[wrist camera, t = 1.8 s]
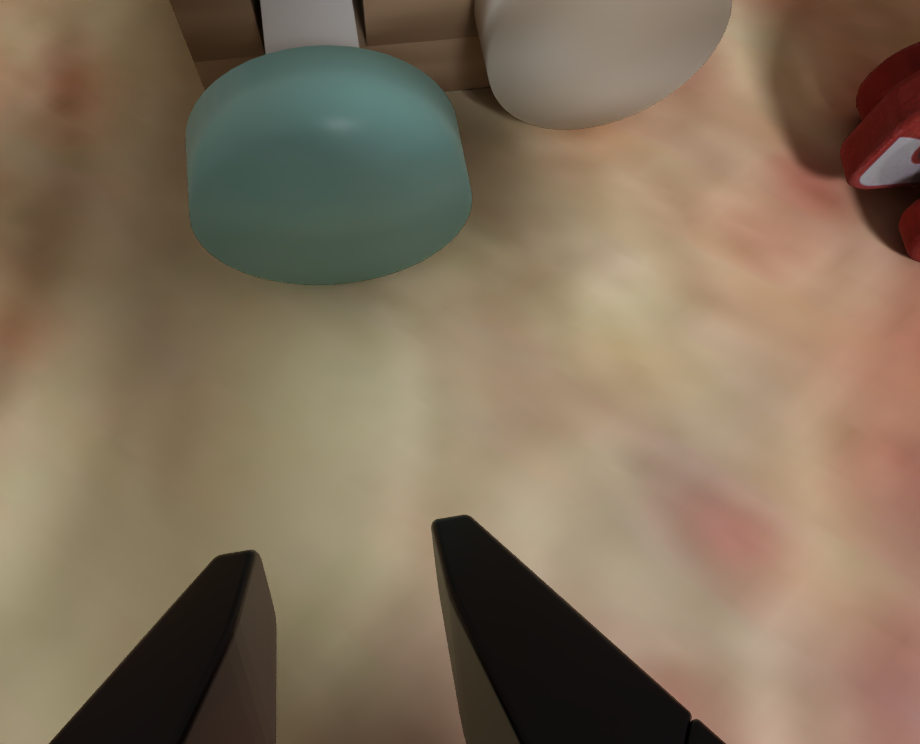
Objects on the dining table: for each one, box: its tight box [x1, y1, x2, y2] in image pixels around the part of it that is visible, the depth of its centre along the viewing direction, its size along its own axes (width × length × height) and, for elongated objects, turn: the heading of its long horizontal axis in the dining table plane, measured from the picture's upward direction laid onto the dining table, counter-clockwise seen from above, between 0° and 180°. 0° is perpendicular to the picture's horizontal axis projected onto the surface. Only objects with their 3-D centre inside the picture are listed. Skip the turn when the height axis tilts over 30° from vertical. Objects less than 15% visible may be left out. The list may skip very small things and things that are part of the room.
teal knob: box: [185, 0, 472, 285], centre depth 22 cm, size 13×8×8 cm, turn 10°
